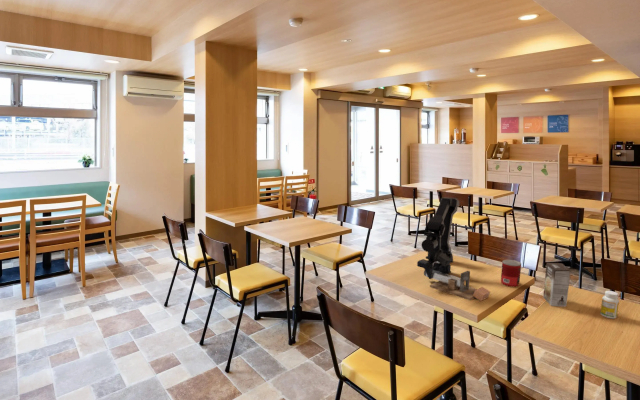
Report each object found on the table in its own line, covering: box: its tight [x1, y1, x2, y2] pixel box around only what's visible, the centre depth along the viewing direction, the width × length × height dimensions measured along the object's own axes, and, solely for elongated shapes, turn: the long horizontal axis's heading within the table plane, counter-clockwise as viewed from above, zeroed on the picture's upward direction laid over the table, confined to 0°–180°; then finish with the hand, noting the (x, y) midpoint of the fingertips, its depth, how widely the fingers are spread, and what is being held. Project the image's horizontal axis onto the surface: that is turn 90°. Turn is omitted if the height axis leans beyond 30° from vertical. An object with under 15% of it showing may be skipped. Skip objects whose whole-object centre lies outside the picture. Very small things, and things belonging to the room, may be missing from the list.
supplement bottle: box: [600, 290, 620, 319], centre depth 153 cm, size 5×5×10 cm
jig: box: [429, 270, 478, 301], centre depth 179 cm, size 20×12×10 cm, turn 41°
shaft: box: [423, 269, 461, 287], centre depth 184 cm, size 19×4×4 cm, turn 41°
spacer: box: [473, 286, 491, 302], centre depth 170 cm, size 4×6×3 cm, turn 132°
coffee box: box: [542, 262, 572, 307], centre depth 165 cm, size 9×6×16 cm
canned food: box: [500, 259, 522, 288], centre depth 186 cm, size 8×8×11 cm
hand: (432, 277), depth 188 cm, fingers open, 4 cm apart
